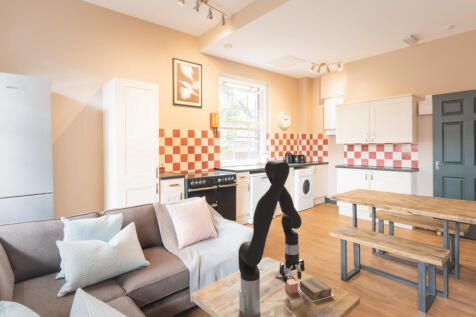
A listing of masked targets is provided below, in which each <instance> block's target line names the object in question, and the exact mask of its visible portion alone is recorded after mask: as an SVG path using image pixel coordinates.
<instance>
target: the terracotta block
mask: <svg viewBox="0 0 476 317" xmlns="http://www.w3.org/2000/svg"><path fill="white" fill-rule="evenodd" d="M298 288H299V282H297V281H296V280H295V279H294V278H291V279H287V283H285V282H284V290H285V291H286V293H288V294H289V295H291V294H295V293H299V290H298Z"/></svg>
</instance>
